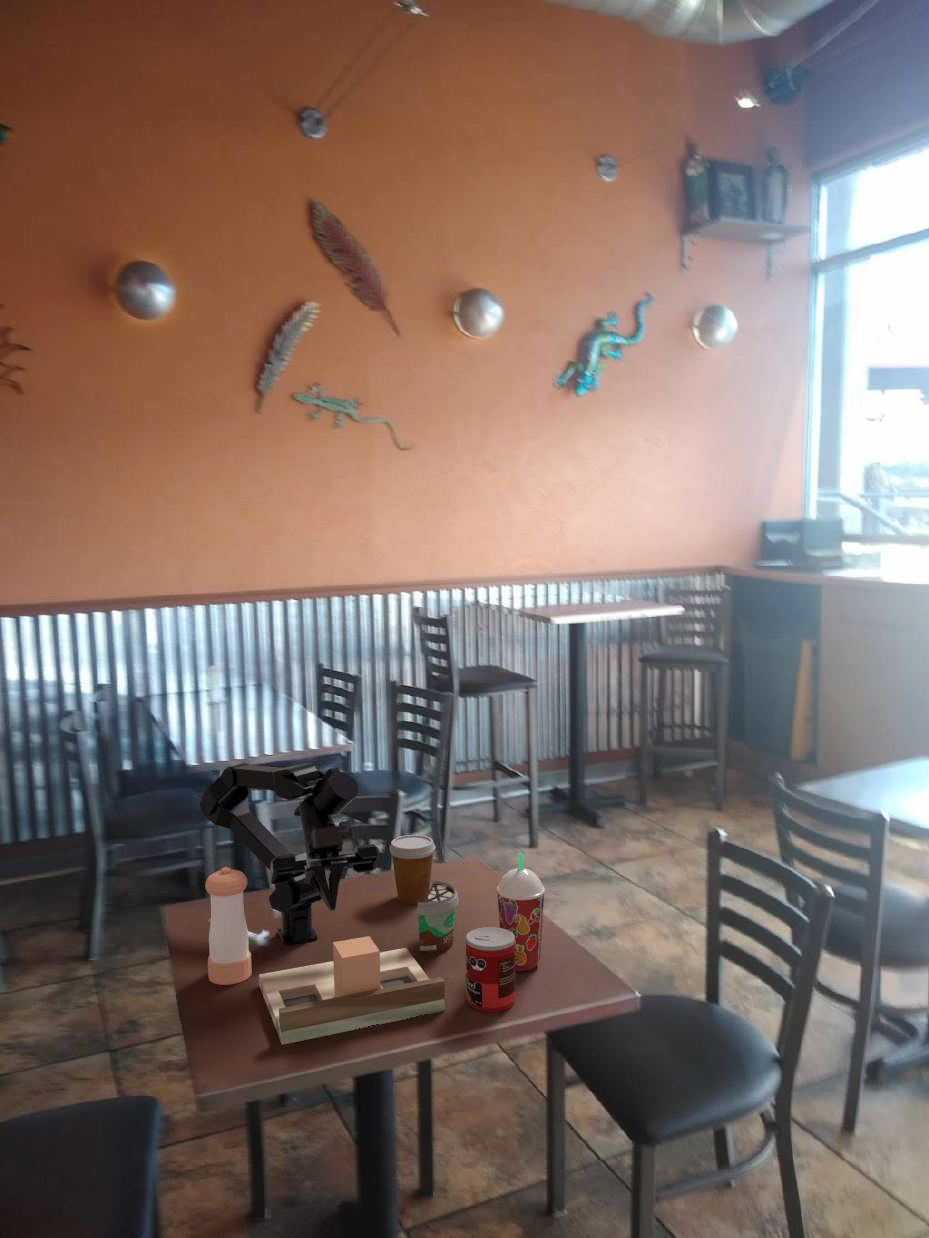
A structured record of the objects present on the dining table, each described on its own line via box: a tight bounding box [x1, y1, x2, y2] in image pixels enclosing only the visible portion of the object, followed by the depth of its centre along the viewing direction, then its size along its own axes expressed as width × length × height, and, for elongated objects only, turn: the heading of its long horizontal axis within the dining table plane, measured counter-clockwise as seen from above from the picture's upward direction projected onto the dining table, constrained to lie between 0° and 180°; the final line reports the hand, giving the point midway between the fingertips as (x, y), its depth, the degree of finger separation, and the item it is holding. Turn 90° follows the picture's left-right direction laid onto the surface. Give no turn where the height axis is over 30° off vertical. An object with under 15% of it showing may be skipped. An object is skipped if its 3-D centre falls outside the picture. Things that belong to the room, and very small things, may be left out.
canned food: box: [465, 926, 516, 1013], centre depth 157 cm, size 8×8×11 cm
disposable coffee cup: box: [388, 834, 436, 905], centre depth 201 cm, size 10×10×12 cm
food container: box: [416, 879, 460, 955], centre depth 179 cm, size 12×6×10 cm, turn 168°
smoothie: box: [496, 852, 546, 972], centre depth 170 cm, size 8×8×20 cm
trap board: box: [258, 947, 446, 1046], centre depth 159 cm, size 20×26×5 cm
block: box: [332, 935, 381, 997], centre depth 154 cm, size 6×6×9 cm
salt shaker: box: [204, 866, 252, 986], centre depth 167 cm, size 7×7×19 cm
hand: (332, 909), depth 166 cm, fingers closed
